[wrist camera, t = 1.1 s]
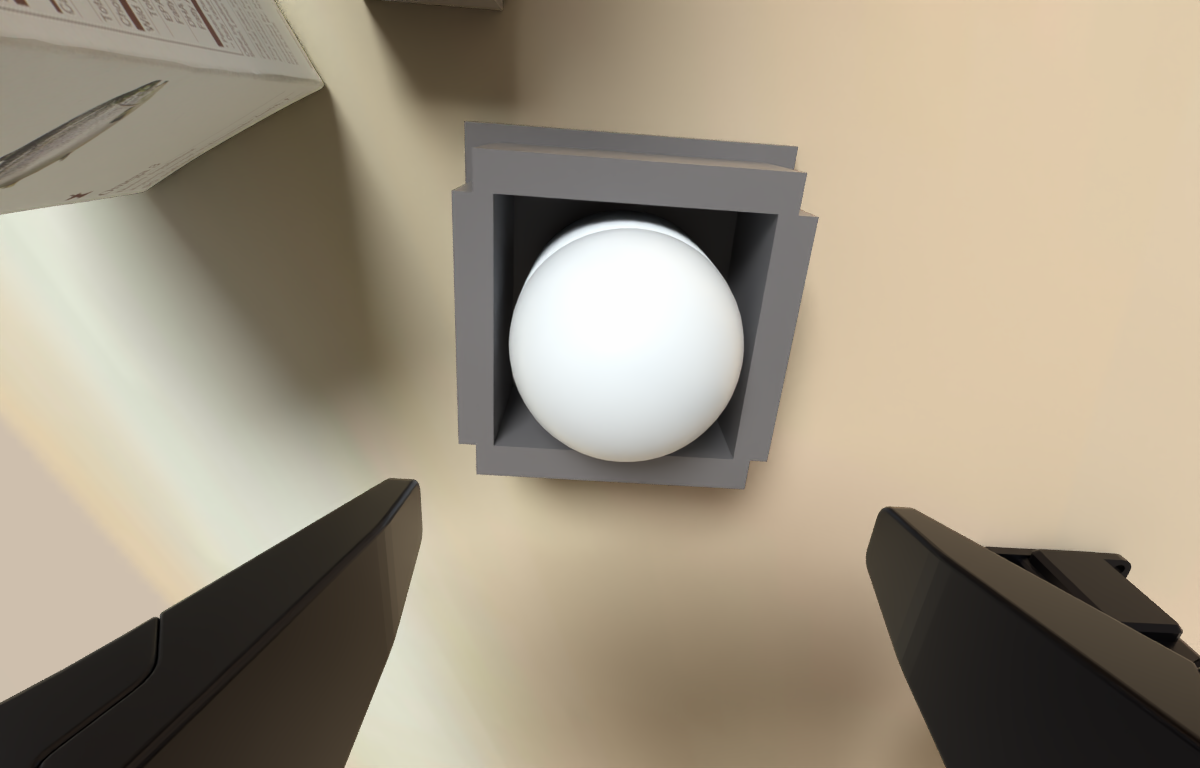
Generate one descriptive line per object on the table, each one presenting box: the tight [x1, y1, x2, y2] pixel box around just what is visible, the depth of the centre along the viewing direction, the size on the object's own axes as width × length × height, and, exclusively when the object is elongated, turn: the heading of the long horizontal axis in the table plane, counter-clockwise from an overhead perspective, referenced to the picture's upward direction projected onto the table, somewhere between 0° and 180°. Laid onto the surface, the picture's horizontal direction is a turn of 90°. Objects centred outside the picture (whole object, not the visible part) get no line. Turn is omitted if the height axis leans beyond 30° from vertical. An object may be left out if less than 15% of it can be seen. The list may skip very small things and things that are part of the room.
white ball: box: [509, 210, 744, 462], centre depth 16 cm, size 6×6×6 cm
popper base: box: [452, 121, 819, 489], centre depth 18 cm, size 10×10×5 cm
